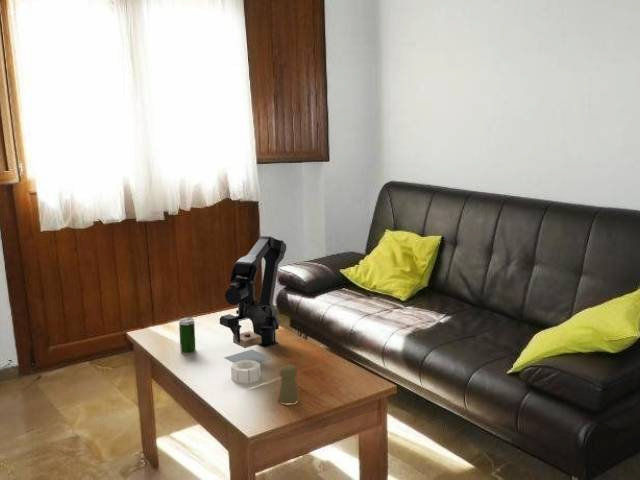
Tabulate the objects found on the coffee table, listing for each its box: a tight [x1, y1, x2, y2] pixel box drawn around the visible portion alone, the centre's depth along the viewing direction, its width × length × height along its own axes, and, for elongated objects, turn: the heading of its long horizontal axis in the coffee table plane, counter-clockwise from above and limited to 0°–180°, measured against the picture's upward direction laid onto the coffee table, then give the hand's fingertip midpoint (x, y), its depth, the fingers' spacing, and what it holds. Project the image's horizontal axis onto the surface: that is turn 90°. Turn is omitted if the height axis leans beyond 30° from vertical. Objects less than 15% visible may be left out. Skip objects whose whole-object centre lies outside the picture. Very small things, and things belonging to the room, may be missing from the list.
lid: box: [232, 330, 262, 349], centre depth 228 cm, size 7×7×3 cm
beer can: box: [178, 317, 197, 355], centre depth 235 cm, size 5×5×12 cm
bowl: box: [230, 360, 261, 384], centre depth 213 cm, size 9×9×4 cm
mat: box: [224, 348, 273, 364], centre depth 230 cm, size 12×12×1 cm
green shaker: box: [278, 364, 300, 404], centre depth 197 cm, size 6×6×11 cm
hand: (247, 340), depth 228 cm, fingers closed on lid, 7 cm apart
